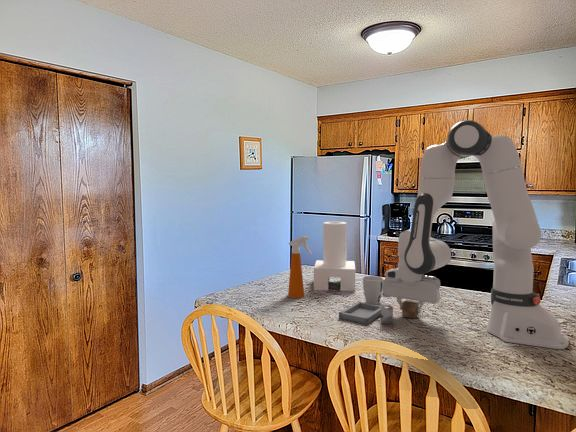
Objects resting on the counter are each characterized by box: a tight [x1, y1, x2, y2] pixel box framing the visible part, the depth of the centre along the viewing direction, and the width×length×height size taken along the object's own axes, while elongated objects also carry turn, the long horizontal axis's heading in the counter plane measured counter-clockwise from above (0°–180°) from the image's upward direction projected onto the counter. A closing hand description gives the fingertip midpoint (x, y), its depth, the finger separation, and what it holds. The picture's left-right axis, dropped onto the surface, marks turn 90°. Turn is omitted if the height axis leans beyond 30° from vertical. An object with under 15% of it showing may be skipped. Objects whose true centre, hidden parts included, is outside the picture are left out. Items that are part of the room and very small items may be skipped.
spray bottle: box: [287, 235, 313, 299], centre depth 169 cm, size 7×11×26 cm, turn 71°
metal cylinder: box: [380, 304, 394, 327], centre depth 137 cm, size 4×4×6 cm
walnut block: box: [401, 299, 420, 319], centre depth 143 cm, size 4×4×5 cm
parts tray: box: [338, 301, 382, 326], centre depth 145 cm, size 11×16×2 cm
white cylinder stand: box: [313, 221, 356, 292], centre depth 187 cm, size 19×19×30 cm
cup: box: [362, 275, 384, 305], centre depth 161 cm, size 8×8×10 cm
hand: (410, 311), depth 143 cm, fingers closed on walnut block, 4 cm apart
